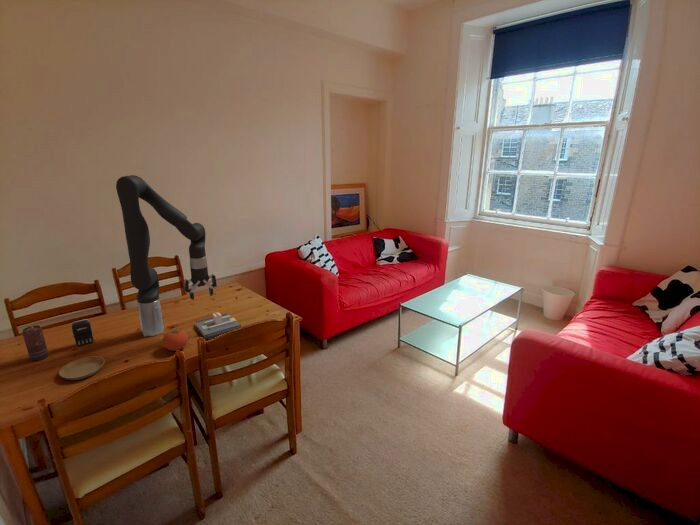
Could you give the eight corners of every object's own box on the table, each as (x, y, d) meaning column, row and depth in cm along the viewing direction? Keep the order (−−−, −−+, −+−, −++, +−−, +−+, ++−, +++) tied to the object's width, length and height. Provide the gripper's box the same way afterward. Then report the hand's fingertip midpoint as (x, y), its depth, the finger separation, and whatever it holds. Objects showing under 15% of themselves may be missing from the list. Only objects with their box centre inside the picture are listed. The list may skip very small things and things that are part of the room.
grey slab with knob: (208, 340, 167) (208, 336, 166) (196, 324, 181) (195, 321, 180) (241, 330, 176) (240, 327, 176) (226, 316, 191) (226, 313, 190)
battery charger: (76, 348, 157) (70, 325, 154) (75, 344, 160) (70, 322, 156) (95, 343, 162) (90, 320, 158) (94, 339, 164) (89, 317, 161)
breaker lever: (216, 325, 176) (215, 316, 174) (213, 322, 179) (212, 313, 177) (222, 324, 177) (221, 314, 176) (219, 321, 180) (218, 311, 179)
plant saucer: (79, 386, 133) (78, 380, 132) (50, 379, 136) (49, 373, 135) (114, 365, 146) (113, 359, 145) (87, 359, 150) (85, 353, 149)
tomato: (172, 357, 152) (169, 337, 149) (159, 350, 157) (156, 330, 154) (193, 347, 160) (191, 327, 157) (180, 340, 165) (177, 321, 162)
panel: (205, 338, 168) (204, 332, 167) (195, 326, 179) (194, 321, 178) (241, 328, 179) (240, 322, 178) (230, 317, 190) (229, 312, 189)
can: (46, 351, 154) (39, 323, 149) (50, 357, 150) (42, 328, 146) (28, 357, 149) (20, 328, 145) (31, 363, 145) (23, 333, 141)
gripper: (185, 270, 158) (188, 303, 163) (216, 265, 166) (219, 296, 171) (180, 266, 163) (184, 298, 168) (211, 261, 172) (214, 291, 177)
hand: (202, 297), depth 170 cm, fingers open, 8 cm apart
